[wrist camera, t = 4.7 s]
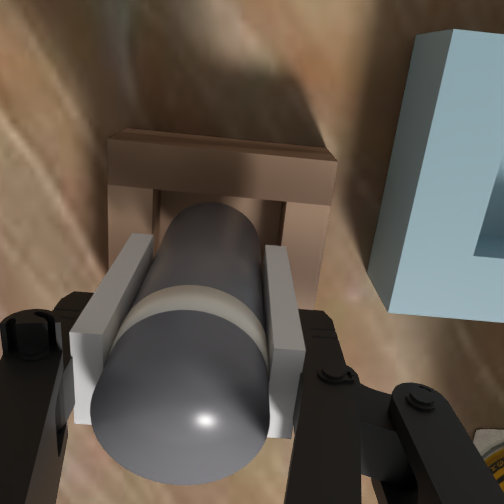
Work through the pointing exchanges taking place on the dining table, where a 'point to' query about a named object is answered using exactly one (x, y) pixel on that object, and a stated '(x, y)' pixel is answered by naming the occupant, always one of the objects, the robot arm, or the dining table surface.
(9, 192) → the dining table surface
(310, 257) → the wooden square frame
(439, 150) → the port
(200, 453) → the plug
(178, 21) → the dining table surface
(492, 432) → the condiment
